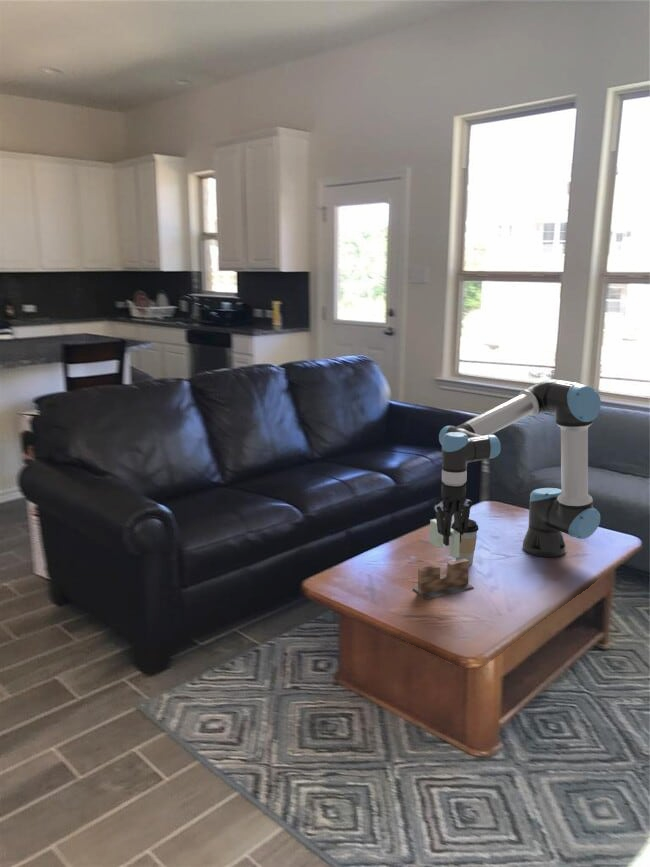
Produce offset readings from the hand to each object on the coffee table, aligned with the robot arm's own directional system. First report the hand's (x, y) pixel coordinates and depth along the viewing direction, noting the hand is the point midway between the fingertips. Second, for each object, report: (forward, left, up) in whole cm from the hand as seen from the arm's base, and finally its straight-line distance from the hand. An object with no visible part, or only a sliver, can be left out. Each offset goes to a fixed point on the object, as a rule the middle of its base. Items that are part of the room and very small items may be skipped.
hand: (451, 553), depth 219 cm
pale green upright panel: (+1, -4, 0) cm, 4 cm away
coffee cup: (-11, -24, -14) cm, 30 cm away
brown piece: (+1, -4, -14) cm, 15 cm away
